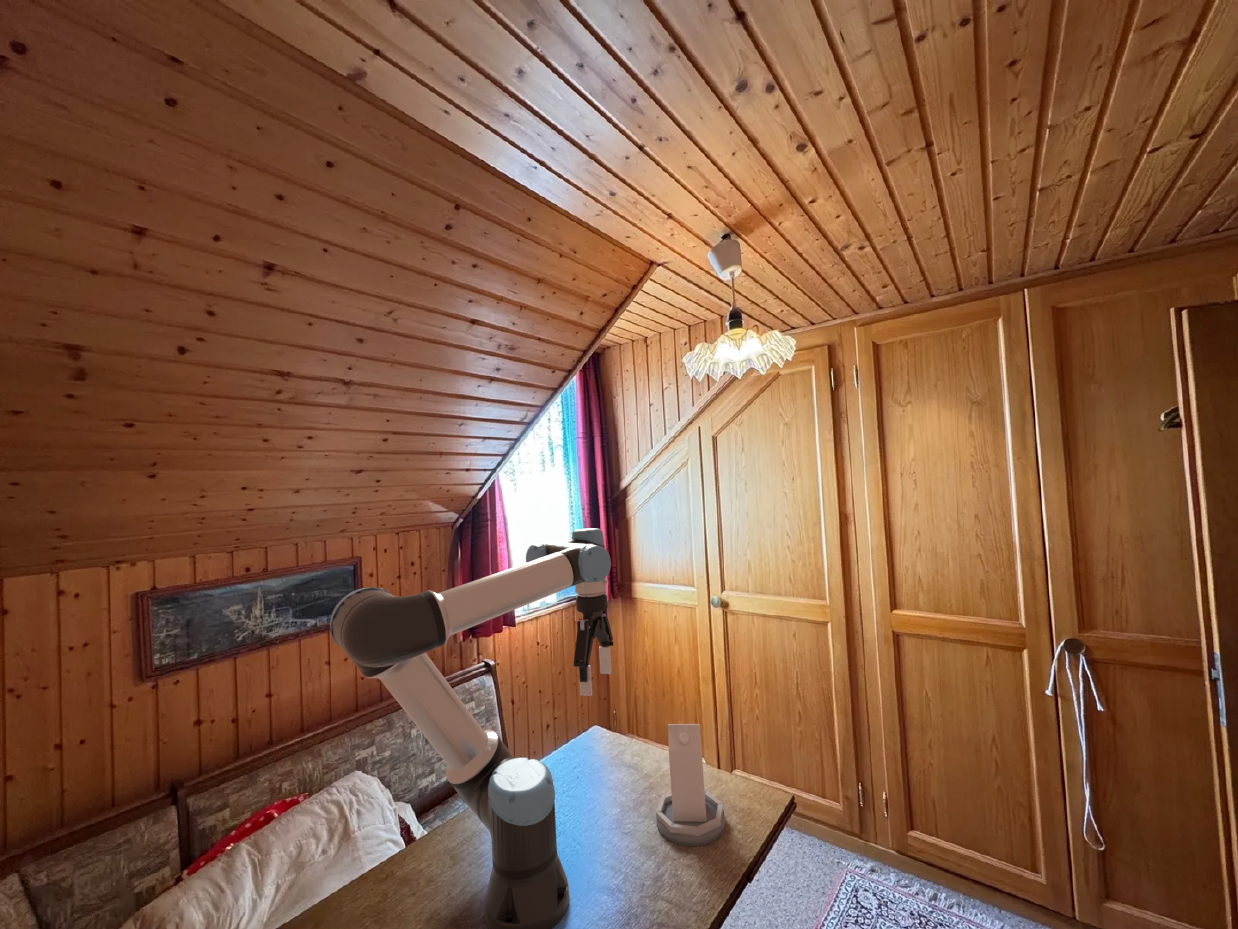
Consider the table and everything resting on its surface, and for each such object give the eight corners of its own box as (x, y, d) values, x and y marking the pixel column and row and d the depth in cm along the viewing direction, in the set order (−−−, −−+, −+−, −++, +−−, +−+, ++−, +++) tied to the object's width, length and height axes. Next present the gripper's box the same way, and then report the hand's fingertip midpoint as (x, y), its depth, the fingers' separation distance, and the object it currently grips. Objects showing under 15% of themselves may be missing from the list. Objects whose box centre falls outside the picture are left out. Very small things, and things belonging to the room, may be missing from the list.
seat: (682, 856, 103) (681, 840, 103) (643, 817, 116) (643, 802, 116) (739, 828, 110) (738, 813, 110) (697, 794, 123) (696, 780, 123)
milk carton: (673, 802, 117) (668, 717, 118) (705, 802, 116) (699, 717, 117) (673, 822, 110) (667, 732, 111) (706, 822, 109) (700, 732, 110)
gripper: (587, 605, 109) (592, 706, 108) (621, 583, 133) (626, 666, 132) (555, 605, 112) (560, 704, 111) (594, 583, 135) (599, 665, 134)
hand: (596, 684), depth 121 cm, fingers open, 13 cm apart
